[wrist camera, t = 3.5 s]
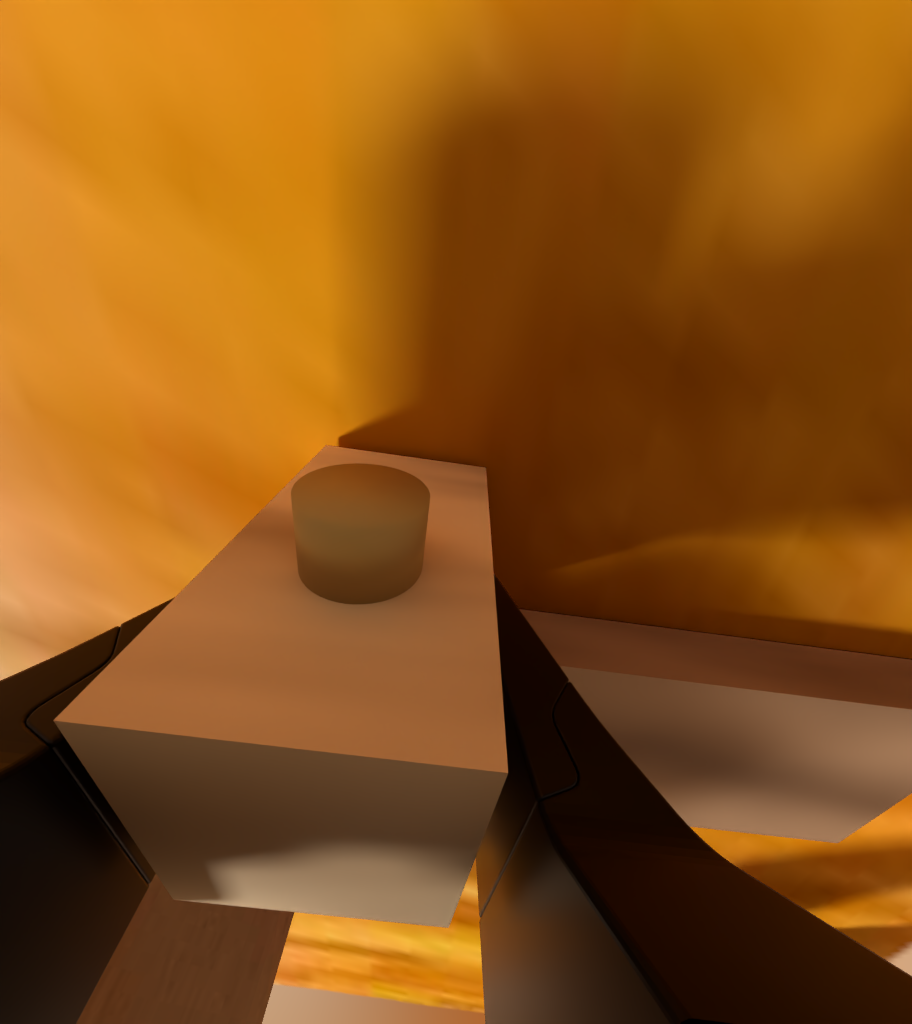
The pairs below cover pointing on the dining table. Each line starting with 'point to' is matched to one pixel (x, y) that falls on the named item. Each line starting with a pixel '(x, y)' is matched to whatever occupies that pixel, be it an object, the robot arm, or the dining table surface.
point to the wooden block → (190, 964)
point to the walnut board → (746, 723)
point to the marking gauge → (317, 701)
